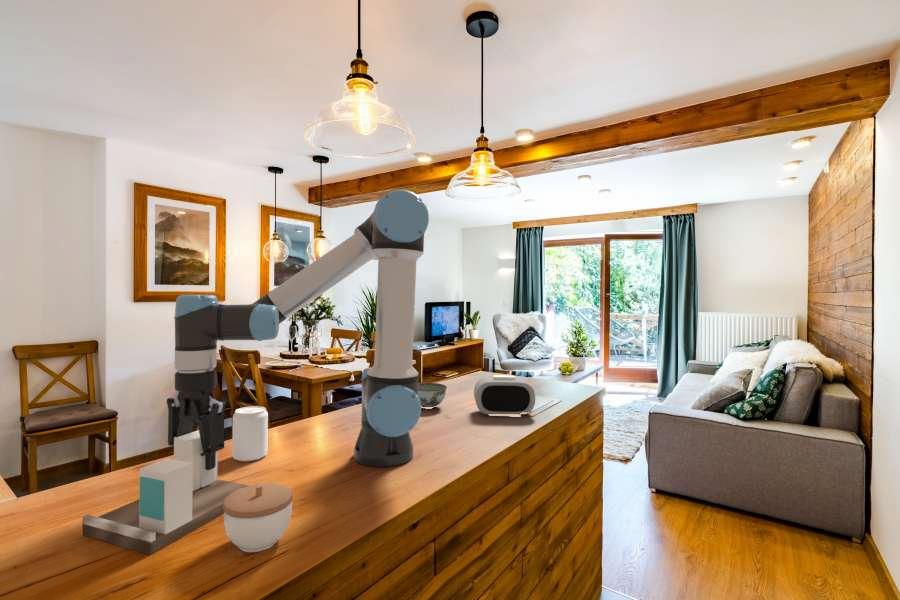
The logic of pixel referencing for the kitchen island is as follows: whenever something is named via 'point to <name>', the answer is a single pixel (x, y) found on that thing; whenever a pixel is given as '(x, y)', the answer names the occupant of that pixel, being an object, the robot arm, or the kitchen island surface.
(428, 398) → the bowl
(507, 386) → the alarm clock
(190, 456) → the tall carton
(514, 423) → the kitchen island surface
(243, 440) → the beverage can
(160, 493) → the faced carton
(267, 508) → the lidded jar
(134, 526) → the shelf board
